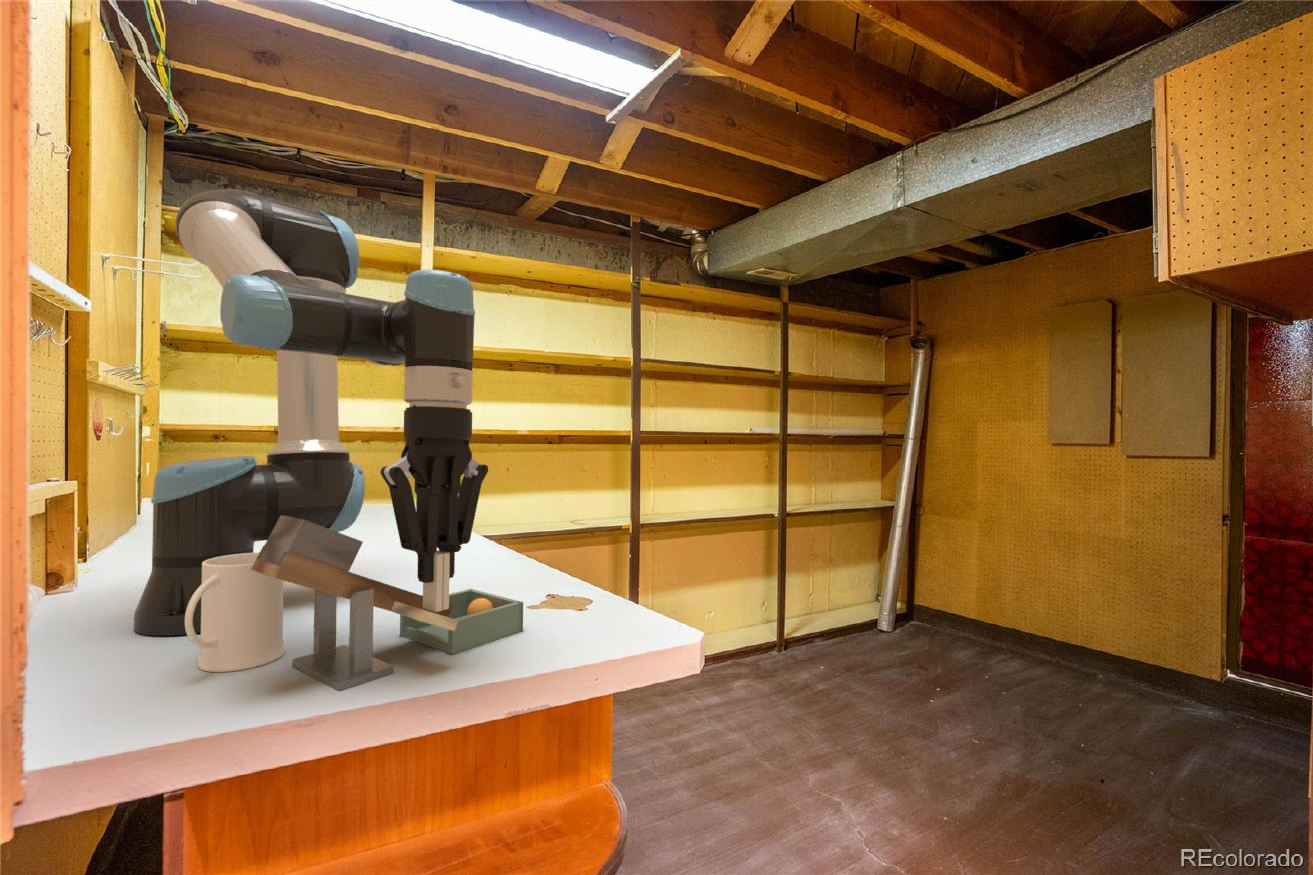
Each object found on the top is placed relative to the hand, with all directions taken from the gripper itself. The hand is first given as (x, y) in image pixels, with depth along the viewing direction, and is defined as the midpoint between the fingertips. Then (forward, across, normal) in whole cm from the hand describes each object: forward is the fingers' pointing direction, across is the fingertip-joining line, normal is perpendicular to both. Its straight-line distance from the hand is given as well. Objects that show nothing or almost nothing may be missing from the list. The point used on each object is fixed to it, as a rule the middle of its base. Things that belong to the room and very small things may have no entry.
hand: (435, 608), depth 68 cm
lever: (-1, -5, +4) cm, 7 cm away
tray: (+7, +9, +8) cm, 14 cm away
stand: (+7, -7, +8) cm, 12 cm away
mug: (+7, -14, +20) cm, 25 cm away
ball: (+5, +12, +8) cm, 15 cm away
